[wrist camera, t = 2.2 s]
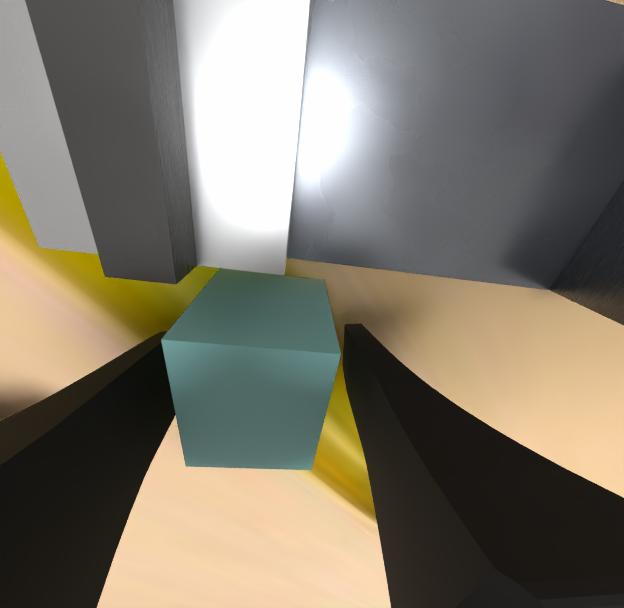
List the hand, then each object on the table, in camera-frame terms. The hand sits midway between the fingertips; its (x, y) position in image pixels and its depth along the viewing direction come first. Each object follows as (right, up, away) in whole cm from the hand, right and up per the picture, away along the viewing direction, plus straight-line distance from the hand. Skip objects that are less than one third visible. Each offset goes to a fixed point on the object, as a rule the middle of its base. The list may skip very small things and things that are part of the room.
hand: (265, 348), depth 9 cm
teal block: (0, +1, +1) cm, 2 cm away
